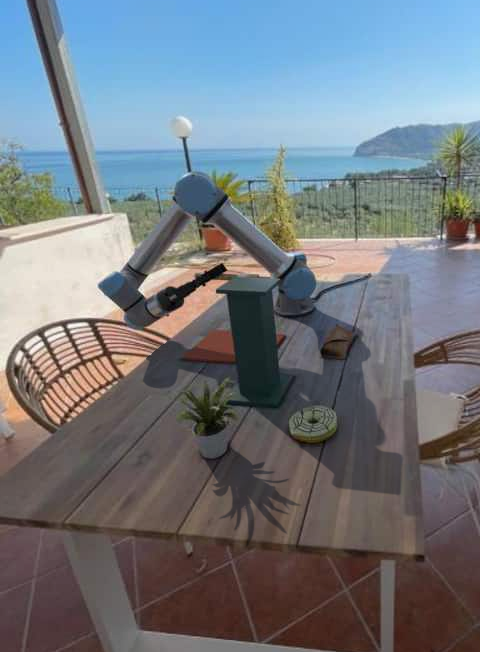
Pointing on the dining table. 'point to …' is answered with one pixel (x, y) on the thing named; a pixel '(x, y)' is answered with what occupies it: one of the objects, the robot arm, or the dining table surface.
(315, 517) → the dining table surface
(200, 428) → the house plant
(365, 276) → the robot arm
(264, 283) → the stand
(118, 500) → the dining table surface
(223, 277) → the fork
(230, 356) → the mat
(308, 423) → the decorated donut
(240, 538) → the dining table surface
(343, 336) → the sunglasses case
